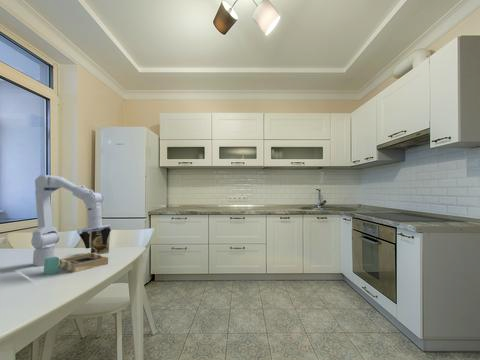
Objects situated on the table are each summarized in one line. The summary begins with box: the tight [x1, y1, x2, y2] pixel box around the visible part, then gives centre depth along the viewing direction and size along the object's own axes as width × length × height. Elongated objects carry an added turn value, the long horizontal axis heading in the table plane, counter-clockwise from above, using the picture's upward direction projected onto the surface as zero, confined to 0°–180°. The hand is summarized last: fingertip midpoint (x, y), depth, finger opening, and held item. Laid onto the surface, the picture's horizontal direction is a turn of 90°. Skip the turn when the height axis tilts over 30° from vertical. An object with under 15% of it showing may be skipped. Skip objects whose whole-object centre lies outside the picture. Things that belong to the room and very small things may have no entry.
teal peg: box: [43, 256, 60, 276], centre depth 103 cm, size 4×4×7 cm
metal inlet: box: [70, 256, 97, 264], centre depth 113 cm, size 8×8×2 cm
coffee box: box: [90, 229, 111, 255], centre depth 137 cm, size 9×6×16 cm
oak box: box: [59, 252, 109, 274], centre depth 113 cm, size 15×15×4 cm
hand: (96, 246), depth 111 cm, fingers open, 7 cm apart
